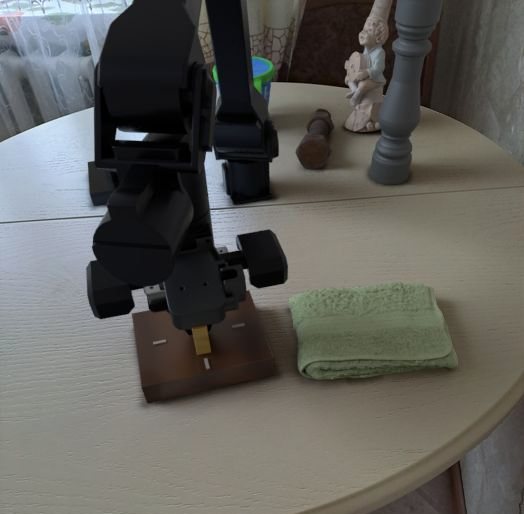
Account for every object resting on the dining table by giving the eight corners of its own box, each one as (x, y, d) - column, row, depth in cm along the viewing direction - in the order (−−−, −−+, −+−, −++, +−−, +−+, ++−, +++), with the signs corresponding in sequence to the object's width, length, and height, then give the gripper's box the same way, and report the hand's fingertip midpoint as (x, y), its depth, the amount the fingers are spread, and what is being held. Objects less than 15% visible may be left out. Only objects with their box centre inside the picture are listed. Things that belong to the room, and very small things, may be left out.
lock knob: (188, 316, 57) (183, 289, 54) (201, 314, 57) (196, 286, 54) (197, 355, 53) (192, 328, 50) (211, 352, 53) (206, 325, 50)
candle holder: (365, 180, 80) (391, -5, 61) (374, 161, 84) (402, -19, 65) (404, 187, 78) (443, -1, 59) (411, 168, 82) (451, -15, 63)
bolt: (325, 136, 93) (315, 176, 83) (302, 121, 92) (290, 160, 82) (343, 109, 89) (335, 148, 79) (319, 93, 88) (309, 130, 78)
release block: (162, 162, 85) (158, 140, 82) (170, 193, 79) (166, 170, 76) (91, 174, 84) (84, 151, 81) (93, 206, 77) (86, 183, 74)
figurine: (373, 111, 96) (391, -14, 81) (398, 129, 91) (422, -1, 76) (333, 121, 94) (343, -6, 79) (356, 140, 89) (372, 8, 73)
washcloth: (461, 374, 54) (469, 355, 52) (299, 387, 54) (300, 368, 51) (425, 292, 63) (431, 272, 60) (286, 303, 62) (286, 283, 60)
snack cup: (212, 110, 98) (206, 53, 90) (264, 104, 99) (263, 47, 92) (225, 148, 88) (220, 88, 80) (283, 140, 89) (284, 80, 82)
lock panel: (250, 307, 62) (249, 288, 59) (274, 375, 55) (274, 356, 53) (137, 330, 60) (131, 312, 57) (147, 404, 53) (140, 386, 50)
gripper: (64, 289, 36) (117, 409, 48) (308, 244, 39) (302, 368, 51) (65, 205, 44) (111, 328, 55) (271, 172, 46) (273, 296, 58)
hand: (198, 331), depth 55 cm, fingers closed on lock knob, 2 cm apart
